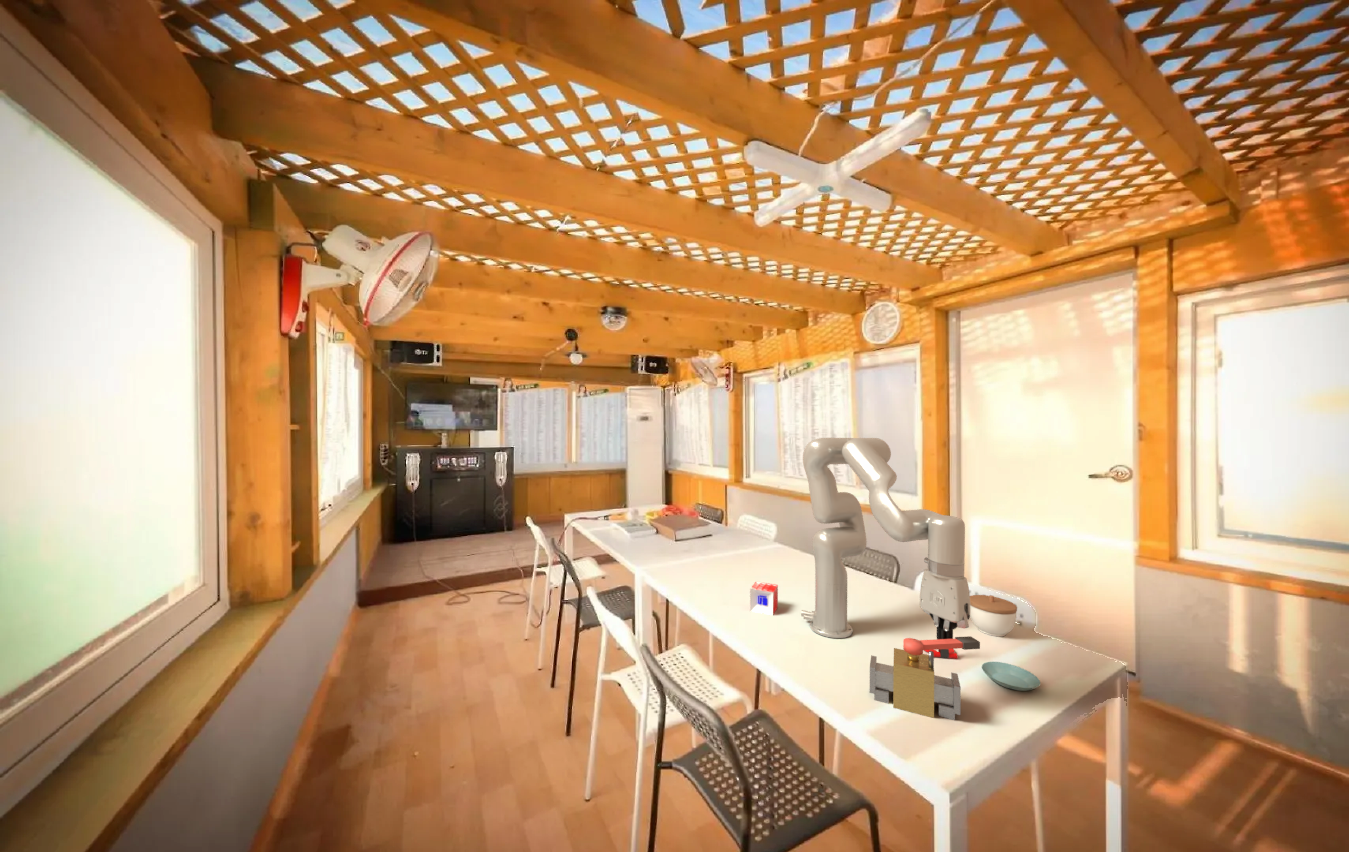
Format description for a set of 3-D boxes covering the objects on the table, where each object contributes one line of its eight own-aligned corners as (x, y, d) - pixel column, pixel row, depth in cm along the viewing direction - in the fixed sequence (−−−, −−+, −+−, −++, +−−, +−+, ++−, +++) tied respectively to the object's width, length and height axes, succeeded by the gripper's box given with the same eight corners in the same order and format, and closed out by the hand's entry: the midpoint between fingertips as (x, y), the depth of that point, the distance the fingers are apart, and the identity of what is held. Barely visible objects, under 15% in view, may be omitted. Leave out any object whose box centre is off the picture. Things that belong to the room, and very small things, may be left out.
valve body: (869, 701, 104) (869, 643, 104) (871, 683, 112) (871, 629, 112) (960, 724, 96) (961, 661, 96) (956, 704, 104) (957, 645, 104)
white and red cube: (777, 607, 159) (777, 584, 159) (773, 615, 152) (773, 592, 152) (755, 603, 162) (755, 581, 162) (749, 611, 155) (749, 588, 155)
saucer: (1047, 686, 112) (1047, 677, 112) (1030, 703, 105) (1030, 693, 105) (992, 665, 121) (992, 656, 121) (973, 679, 114) (973, 670, 114)
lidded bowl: (986, 620, 149) (986, 587, 149) (1027, 637, 137) (1027, 601, 137) (958, 625, 145) (958, 591, 145) (997, 643, 133) (997, 606, 133)
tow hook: (915, 643, 134) (928, 657, 125) (915, 599, 134) (928, 610, 125) (946, 645, 133) (961, 660, 123) (946, 601, 133) (960, 612, 124)
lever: (910, 655, 102) (910, 646, 102) (899, 646, 106) (899, 638, 106) (981, 651, 104) (981, 643, 104) (968, 643, 108) (968, 635, 108)
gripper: (907, 561, 113) (906, 633, 114) (966, 580, 100) (965, 663, 100) (927, 557, 116) (926, 628, 117) (988, 575, 103) (986, 656, 103)
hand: (944, 644), depth 108 cm, fingers closed
